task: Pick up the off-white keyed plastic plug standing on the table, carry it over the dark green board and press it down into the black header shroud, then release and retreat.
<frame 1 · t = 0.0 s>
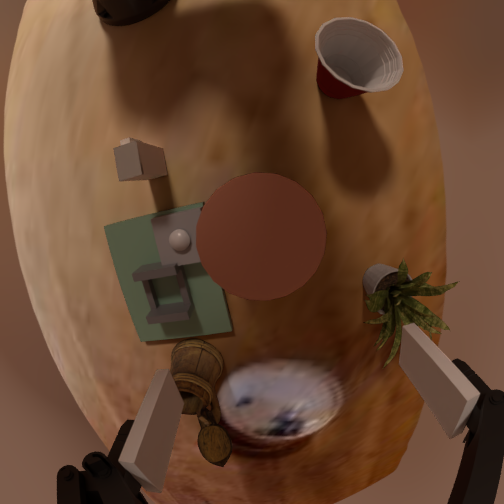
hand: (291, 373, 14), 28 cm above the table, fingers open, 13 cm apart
wooden mug: (206, 367, 47), on the table
coffee jar: (256, 212, 40), on the table
house plant: (369, 282, 43), on the table
board: (168, 277, 42), on the table
plug: (155, 164, 38), on the table
plastic cup: (333, 81, 35), on the table
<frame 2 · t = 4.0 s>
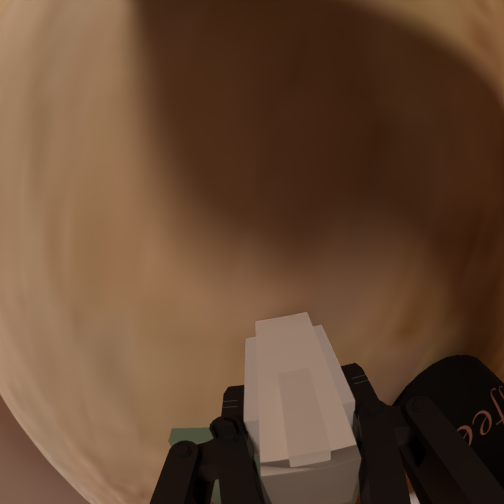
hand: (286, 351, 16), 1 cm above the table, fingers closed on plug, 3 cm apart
coffee jar: (432, 395, 19), on the table
board: (283, 477, 21), on the table
plug: (285, 344, 16), point 1 cm above the table, touching gripper
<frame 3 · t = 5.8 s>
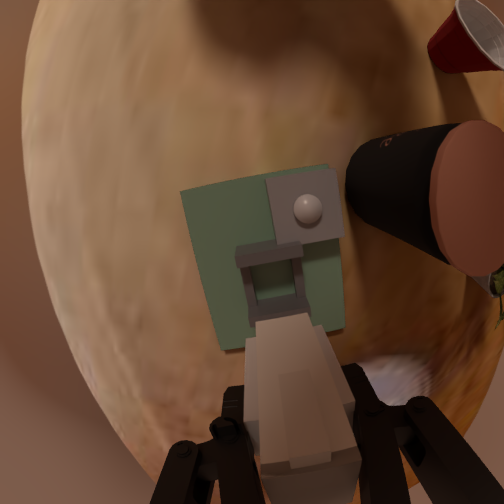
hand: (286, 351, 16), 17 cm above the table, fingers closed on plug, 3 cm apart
coffee jar: (381, 182, 30), on the table
house plant: (471, 265, 33), on the table
board: (269, 262, 33), on the table
plug: (285, 345, 16), point 17 cm above the table, touching gripper
plastic cup: (440, 55, 25), on the table
when the fingers open (4 cm above the table, at t = 7.8 s): plug drops 2 cm, resting on board.
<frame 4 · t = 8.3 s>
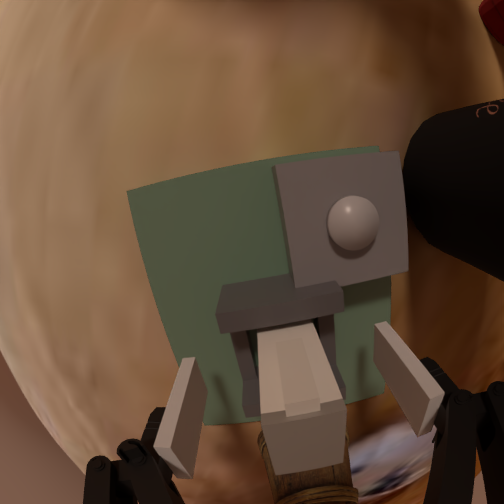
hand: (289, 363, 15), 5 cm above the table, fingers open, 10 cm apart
wooden mug: (313, 444, 24), on the table
coffee jar: (447, 182, 18), on the table
board: (278, 307, 20), on the table
plug: (283, 327, 18), point 1 cm above the table, touching board
plastic cup: (493, 24, 12), on the table
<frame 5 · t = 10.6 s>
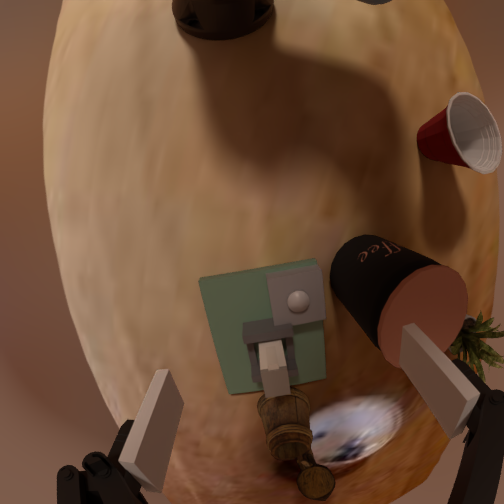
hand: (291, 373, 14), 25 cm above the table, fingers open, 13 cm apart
wooden mug: (289, 410, 45), on the table
coffee jar: (361, 269, 39), on the table
house plant: (438, 324, 42), on the table
board: (268, 331, 41), on the table
plug: (270, 341, 40), point 1 cm above the table, touching board
plastic cup: (429, 140, 35), on the table
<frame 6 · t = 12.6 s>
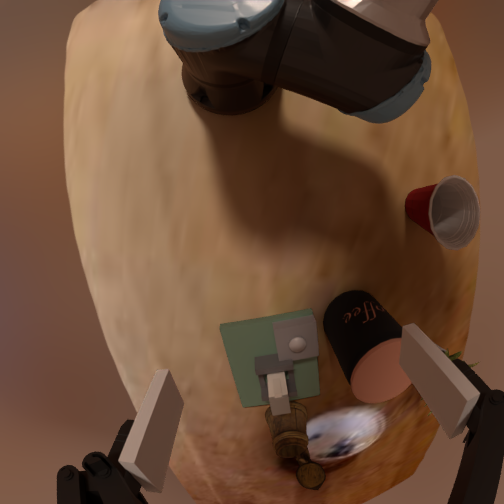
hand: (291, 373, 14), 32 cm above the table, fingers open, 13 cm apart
wooden mug: (291, 417, 55), on the table
coffee jar: (349, 314, 48), on the table
board: (274, 361, 50), on the table
plug: (275, 369, 49), point 1 cm above the table, touching board
plastic cup: (416, 203, 43), on the table
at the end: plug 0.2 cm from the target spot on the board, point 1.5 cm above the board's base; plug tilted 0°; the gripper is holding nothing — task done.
